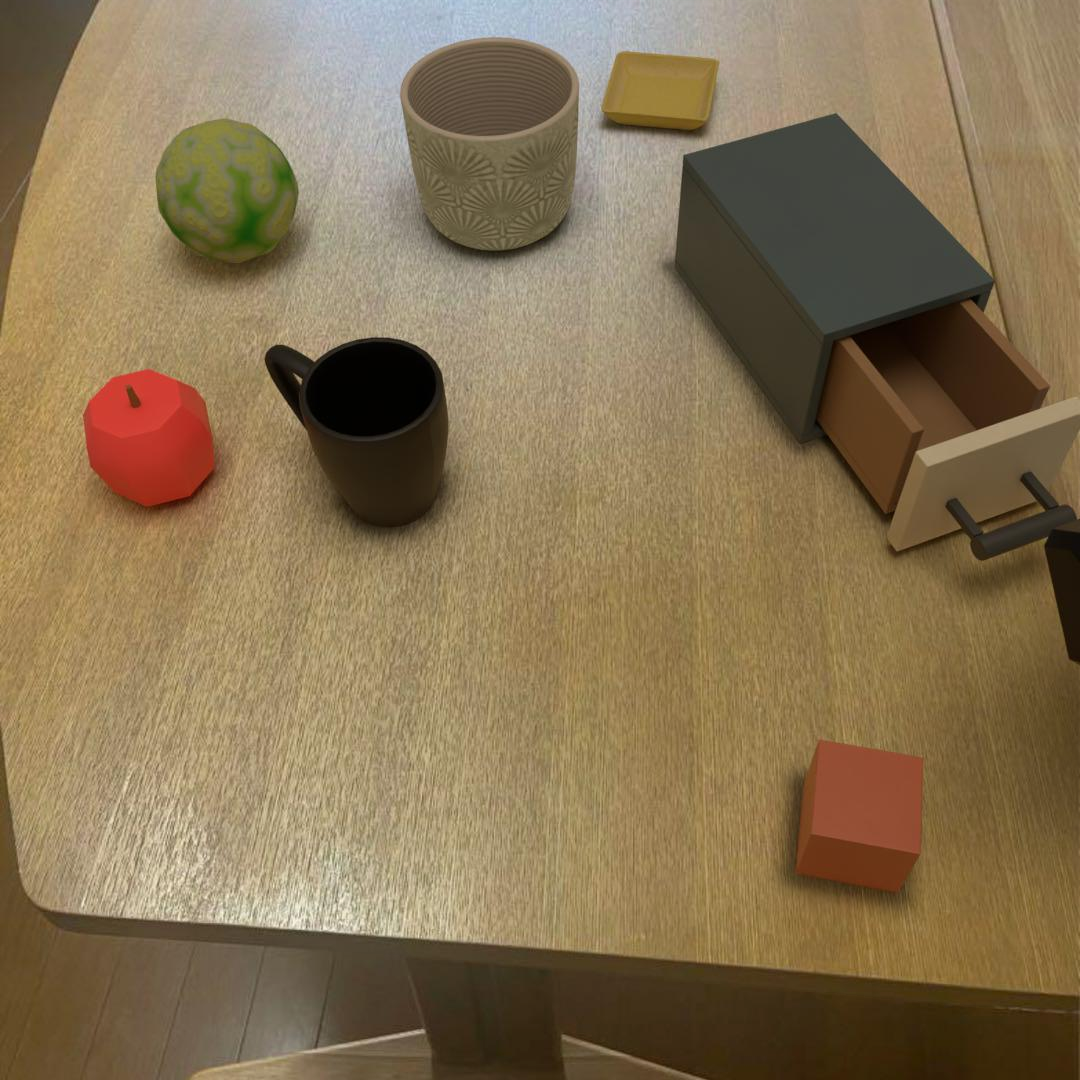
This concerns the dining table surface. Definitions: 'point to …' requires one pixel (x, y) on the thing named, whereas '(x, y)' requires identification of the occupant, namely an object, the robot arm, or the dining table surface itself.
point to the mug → (371, 422)
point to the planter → (493, 139)
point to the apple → (149, 437)
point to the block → (861, 816)
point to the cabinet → (810, 254)
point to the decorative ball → (226, 190)
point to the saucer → (660, 90)
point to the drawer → (948, 428)
